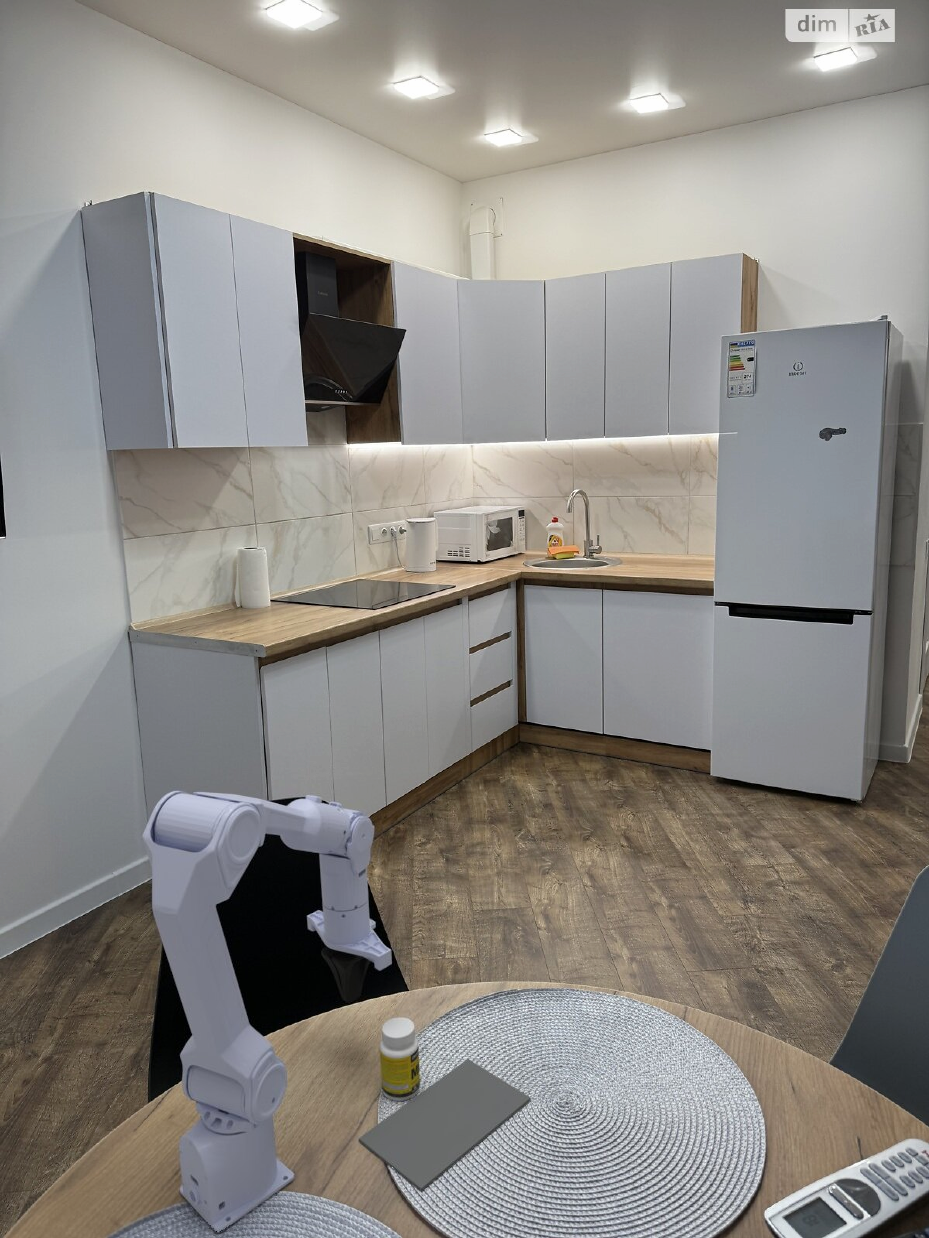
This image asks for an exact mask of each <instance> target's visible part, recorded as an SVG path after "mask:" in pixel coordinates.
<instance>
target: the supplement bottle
mask: <svg viewBox="0 0 929 1238" xmlns="http://www.w3.org/2000/svg"><path fill="white" fill-rule="evenodd" d="M415 1027H416V1026H415V1023H414V1022H413V1020H411V1019H409V1018H407V1017H403V1016H401V1017H400V1016H399V1017H393V1018H390V1019H388V1020H386V1021H385V1022H384V1023H383V1025H382V1027H381V1038H382V1039H381V1040H380V1043H379V1057H380V1059H379V1060H380V1076H381V1078H380V1079H381V1080H380V1081H381V1091H382V1093H383V1095H384V1096H385V1097H386V1098H387V1099H389V1100H391V1101H395V1102H401V1101H407V1099H408V1100H409V1098H410V1099H412V1098H414V1097H415V1096H417V1094H418V1093H417V1092H419V1091H420V1088H421V1077H420V1056H419V1055H420V1050H419V1048H420V1047H419V1041H418V1038H417V1036H416V1029H415ZM416 1093H417V1094H416ZM414 1095H415V1096H414ZM413 1096H414V1097H413ZM411 1097H412V1098H411Z"/></svg>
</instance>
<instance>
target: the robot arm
mask: <svg viewBox="0 0 929 1238" xmlns="http://www.w3.org/2000/svg"><path fill="white" fill-rule="evenodd" d="M192 793H193V794H190V793H188V792H187V791H183V790H173V791H170V792H168V793H166V794H165V795H164V796H162V797H161V799H159V801H158V802H157V804H156V805H155V807H154V808H153V810H152V813H151V815H150V817H149V819H148V821H147V824H146V826H145V829H144V831H143V833H142V836H141V838H142V841H143V845H144V848H145V850H146V854H147V857H148V860H149V863H150V866H151V872H152V873H151V879H152V880H151V881H152V882H151V884H152V885H151V887H152V888H151V895H152V896H151V897H152V898H151V906H152V907H151V908H152V914H153V917H154V920H155V924H156V927H157V930H158V933H159V936H160V939H161V942H162V947H163V948H164V951H165V954H166V957H167V961H168V963H169V967H170V971H171V972H172V975H173V976H172V977H173V979H174V982H175V986H176V988H177V991H178V994H179V998H180V1001H181V1003H182V1007H183V1010H184V1013H185V1017H186V1020H187V1023H188V1025H189V1029H190V1032H191V1034H192V1035H191V1036H190V1038H189V1039H188V1040H187V1042H186V1043H185V1045H184V1047H183V1049H182V1050H181V1052H180V1054H179V1056H180V1060H181V1064H182V1078H181V1087H182V1092H183V1094H184V1096H185V1097H186V1098H187V1100H190V1101H194V1102H195V1108H196V1110H195V1111H196V1113H197V1114H199V1115H200V1117H199V1118H198V1120H196V1122H195V1124H193V1126H192V1127H191V1128H189V1129H188V1131H186V1132H185V1133H184V1134H183V1135H182V1136H180V1138H179V1140H178V1154H179V1155H178V1156H179V1165H180V1173H181V1174H180V1177H181V1185H180V1187H179V1192H180V1194H181V1195H182V1196H183V1198H185V1200H186V1201H187V1202H188V1203H189V1204H190V1205H191V1206H192V1207H193V1208H194V1209H195V1211H196V1212H197V1213H198V1214H199V1215H200V1216H201V1218H203V1219H204V1220H205V1222H206V1223H207V1222H208V1223H207V1224H208V1225H209V1226H210V1225H211V1226H210V1228H212V1229H213V1228H214V1229H213V1230H214V1231H215V1232H216V1231H217V1232H216V1233H219V1232H218V1231H221V1230H223V1229H224V1228H226V1227H227V1228H228V1226H229V1225H230V1226H231V1225H233V1224H234V1223H235V1222H237V1221H238V1220H240V1219H241V1218H243V1217H244V1216H245V1215H247V1214H248V1213H249V1212H250V1211H253V1209H255V1208H257V1207H258V1206H259V1205H260V1204H262V1203H263V1202H264V1201H266V1200H268V1199H269V1198H270V1197H272V1196H273V1195H274V1194H275V1193H277V1192H278V1191H280V1190H282V1188H284V1187H286V1185H288V1184H290V1183H291V1182H292V1181H294V1179H295V1173H294V1172H293V1171H292V1170H291V1169H289V1168H288V1167H287V1165H286V1164H284V1163H283V1162H282V1160H280V1159H279V1158H278V1157H277V1148H276V1147H277V1146H276V1135H275V1123H274V1114H275V1113H276V1112H277V1110H279V1107H280V1106H281V1104H282V1101H283V1099H284V1097H285V1094H286V1091H287V1085H288V1071H287V1066H286V1064H285V1061H284V1060H283V1059H282V1058H280V1057H278V1056H277V1055H276V1052H275V1050H274V1046H273V1044H272V1043H271V1041H269V1040H267V1038H266V1037H264V1036H263V1035H262V1034H261V1033H260V1032H259V1031H257V1029H255V1028H254V1027H253V1026H252V1025H251V1024H250V1022H249V1018H248V1015H247V1010H246V1008H245V1004H244V999H243V997H242V993H241V989H240V987H239V983H238V979H237V976H236V973H235V969H234V967H233V963H232V958H231V956H230V952H229V949H228V945H227V940H226V937H225V935H224V931H223V928H222V925H221V921H220V917H219V914H218V911H217V904H220V903H222V902H224V901H227V900H229V899H230V897H231V896H232V894H233V892H234V890H235V889H236V887H237V885H238V884H239V882H240V880H241V878H242V877H243V875H244V873H245V872H246V869H247V868H248V866H249V864H250V862H251V860H252V859H253V857H254V856H255V854H256V852H257V850H258V848H259V847H262V846H263V845H264V841H265V838H266V834H267V835H276V836H280V839H281V841H282V843H283V844H285V845H286V846H287V847H288V848H290V849H293V850H296V851H297V850H298V851H304V852H311V853H318V854H319V856H318V857H319V869H320V884H321V885H320V886H321V898H322V902H321V903H322V910H319V909H318V910H316V911H314V912H313V913H310V914H308V915H306V920H307V930H309V931H311V932H315V931H316V932H317V934H318V935H319V937H320V938H321V941H322V942H323V943H324V945H325V946H324V947H322V949H321V950H320V951H321V952H320V953H321V957H322V958H323V959H324V960H325V962H326V963H327V964H328V966H329V969H330V970H331V973H332V974H333V977H334V979H335V983H336V985H337V988H338V992H339V994H340V996H341V1000H343V1001H345V1002H346V1003H348V1004H350V1003H352V1002H354V1001H355V1000H357V999H359V998H360V997H361V995H362V991H363V985H364V982H365V977H366V973H367V971H368V968H369V966H370V964H371V962H372V963H374V968H375V969H376V970H377V971H382V970H384V969H385V968H387V967H389V966H390V965H392V963H393V961H392V959H393V958H392V949H391V948H389V947H387V946H386V945H385V944H384V943H383V941H382V940H381V939H380V938H379V936H378V935H377V933H376V932H375V930H374V929H376V926H377V925H376V921H374V920H373V919H372V918H370V907H369V905H370V904H369V888H368V869H367V868H368V866H369V865H370V861H371V860H372V859H371V858H372V857H371V849H372V844H373V842H374V841H373V840H374V835H375V825H373V823H372V820H371V819H370V817H368V816H367V813H365V812H364V811H360V810H356V809H355V810H354V809H350V808H349V809H348V808H343V804H342V803H340V802H335V801H330V802H329V803H324V802H323V798H322V797H320V796H317V795H313V794H310V795H309V794H306V796H305V798H299V799H295V800H293V801H291V802H290V803H288V804H287V805H283V804H279V803H276V802H272V801H269V800H265V799H262V798H259V797H258V798H257V797H252V796H245V795H240V794H234V793H220V792H208V791H207V792H205V791H196V792H195V791H194V792H192ZM230 1226H229V1227H230ZM227 1228H226V1229H227ZM224 1230H225V1229H224ZM224 1230H223V1231H224ZM221 1232H222V1231H221Z"/></svg>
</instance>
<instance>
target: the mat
mask: <svg viewBox="0 0 929 1238" xmlns="http://www.w3.org/2000/svg"><path fill="white" fill-rule="evenodd" d="M531 1099H532V1098H531V1096H529V1095H527V1094H525V1093H524V1092H522V1091H521V1090H519V1089H517V1088H516V1087H514V1086H512V1085H511V1084H509V1083H508V1082H507V1081H504V1079H501V1078H500V1077H498V1076H496V1075H495V1074H493V1073H492V1072H490V1071H489V1070H488V1069H487V1070H486V1069H485V1068H484V1067H482V1066H480V1065H479V1064H478V1063H476V1062H474V1061H472V1060H470V1059H469V1058H467V1059H465V1060H464V1061H463V1062H462V1063H461V1064H459V1065H457V1066H456V1067H454V1069H452V1070H450V1072H448V1073H446V1074H445V1075H443V1077H441V1078H440V1079H437V1081H435V1082H434V1083H433V1084H431V1085H430V1086H429V1087H427V1088H425V1089H424V1090H423V1091H422V1092H420V1093H419V1094H417V1095H415V1096H414V1097H412V1098H411V1100H409V1101H408V1102H407V1103H405V1104H404V1105H402V1106H401V1107H400V1108H398V1109H397V1110H396V1111H394V1112H393V1113H391V1114H389V1116H387V1117H386V1118H385V1119H383V1120H382V1121H380V1123H378V1124H376V1125H375V1126H373V1127H372V1128H371V1129H370V1130H368V1131H367V1132H365V1133H364V1134H363V1135H361V1136H360V1137H358V1142H359V1143H360V1144H361V1145H362V1146H363V1147H365V1148H366V1149H367V1150H369V1151H370V1152H372V1154H374V1155H375V1156H376V1157H377V1158H378V1159H380V1160H381V1161H382V1162H383V1163H385V1164H386V1165H387V1166H389V1165H390V1166H391V1167H393V1168H394V1169H395V1170H396V1171H397V1172H398V1173H397V1172H396V1171H395V1170H394V1169H393V1170H394V1171H395V1172H396V1173H397V1174H398V1175H400V1176H401V1177H402V1178H403V1179H405V1181H407V1182H409V1183H410V1184H411V1185H412V1186H413V1187H415V1188H416V1189H418V1191H420V1192H421V1193H422V1192H423V1191H424V1190H425V1189H427V1188H428V1187H429V1186H430V1185H431V1184H433V1183H434V1182H435V1181H436V1180H437V1179H439V1178H440V1177H441V1176H442V1175H443V1174H445V1173H446V1172H447V1171H449V1169H451V1168H452V1167H453V1166H454V1165H456V1164H457V1163H458V1162H459V1161H460V1160H462V1159H463V1158H464V1157H465V1156H466V1155H468V1154H469V1153H470V1152H471V1151H472V1150H474V1149H475V1148H476V1147H477V1146H479V1144H481V1143H482V1142H483V1141H484V1140H485V1139H487V1138H488V1137H489V1136H490V1135H491V1134H493V1133H494V1132H495V1131H496V1130H498V1129H499V1128H500V1127H501V1126H502V1125H503V1124H505V1123H506V1122H507V1121H508V1120H509V1119H510V1118H512V1117H513V1116H514V1115H515V1114H517V1113H518V1112H519V1111H521V1109H523V1108H524V1107H525V1106H526V1105H527V1104H528V1103H530V1102H531V1101H532V1100H531ZM390 1166H389V1167H390ZM391 1167H390V1168H391Z"/></svg>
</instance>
